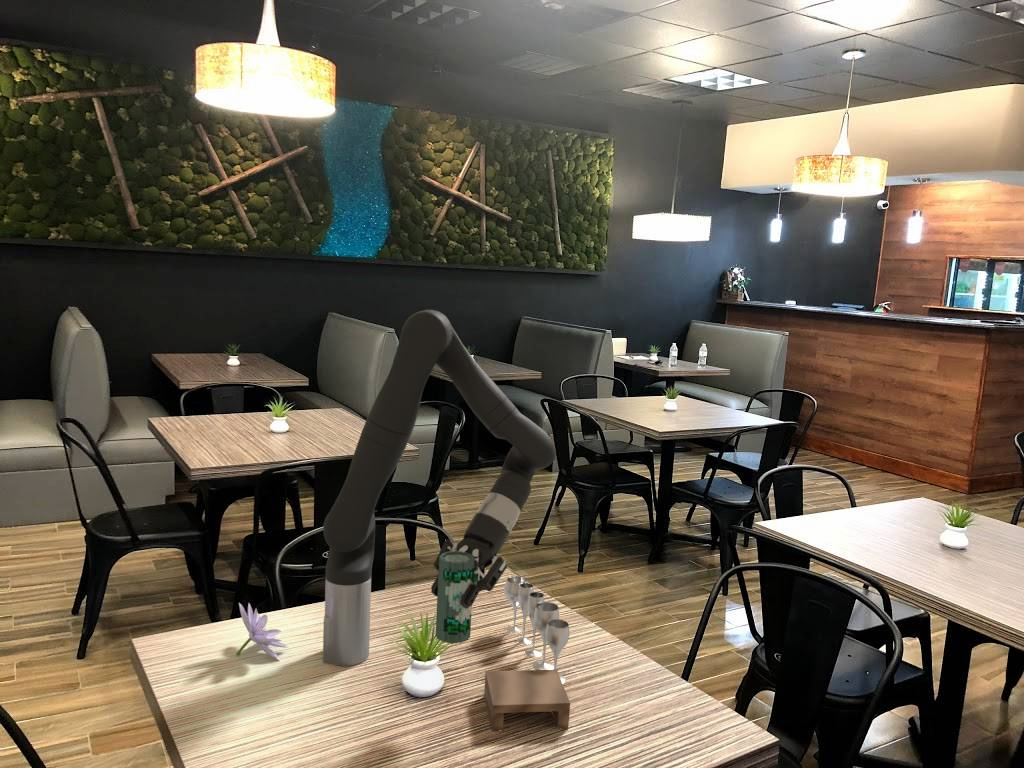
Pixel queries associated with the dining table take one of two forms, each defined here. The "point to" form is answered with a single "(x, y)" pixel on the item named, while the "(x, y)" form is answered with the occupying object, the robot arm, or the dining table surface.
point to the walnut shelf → (525, 695)
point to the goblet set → (537, 621)
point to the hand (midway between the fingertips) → (449, 600)
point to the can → (453, 596)
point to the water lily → (259, 631)
